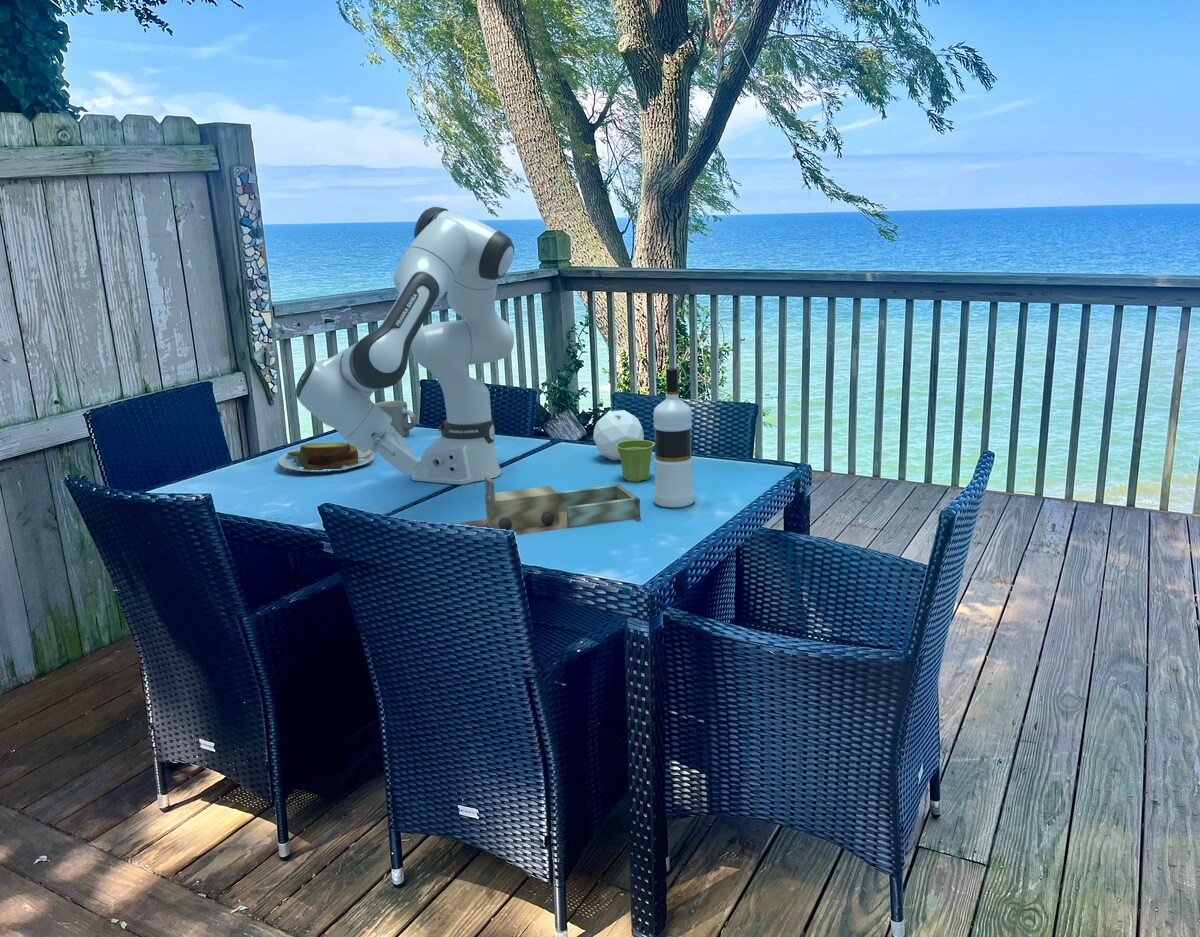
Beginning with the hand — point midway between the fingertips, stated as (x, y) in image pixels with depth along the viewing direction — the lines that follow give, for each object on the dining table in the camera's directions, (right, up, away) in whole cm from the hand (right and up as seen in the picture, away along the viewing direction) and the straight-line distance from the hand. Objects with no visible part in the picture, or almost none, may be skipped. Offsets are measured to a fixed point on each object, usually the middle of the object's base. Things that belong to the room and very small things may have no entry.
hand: (425, 473), depth 184 cm
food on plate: (-40, +2, +69) cm, 79 cm away
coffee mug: (-28, +11, +99) cm, 104 cm away
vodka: (+51, -7, +21) cm, 56 cm away
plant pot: (+43, -2, +42) cm, 61 cm away
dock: (+23, -11, +11) cm, 28 cm away
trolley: (+19, -11, +9) cm, 23 cm away
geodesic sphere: (+40, +3, +62) cm, 73 cm away
